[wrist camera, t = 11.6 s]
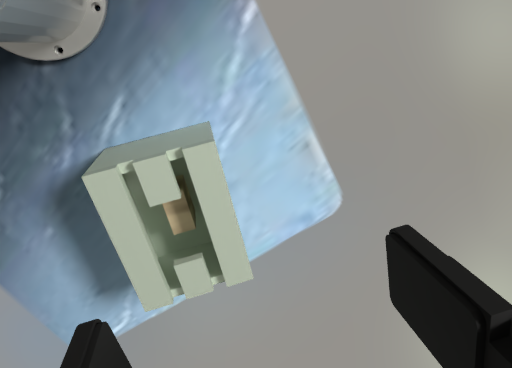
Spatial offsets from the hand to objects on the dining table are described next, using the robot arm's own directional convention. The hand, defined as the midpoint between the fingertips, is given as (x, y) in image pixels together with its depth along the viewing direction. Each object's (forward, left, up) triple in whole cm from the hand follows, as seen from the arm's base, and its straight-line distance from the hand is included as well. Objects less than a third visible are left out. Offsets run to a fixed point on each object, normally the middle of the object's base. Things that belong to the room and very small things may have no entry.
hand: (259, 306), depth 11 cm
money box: (+8, -6, -30) cm, 32 cm away
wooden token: (+10, -6, -28) cm, 30 cm away
